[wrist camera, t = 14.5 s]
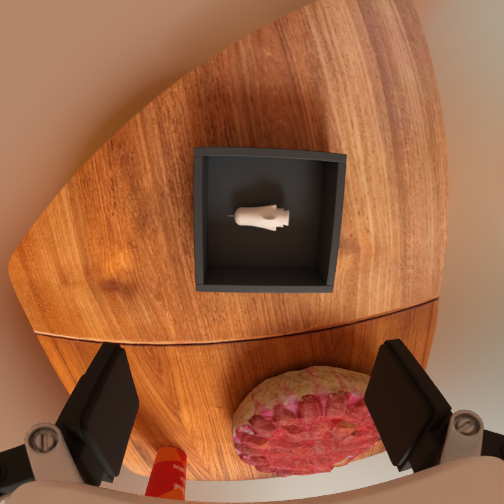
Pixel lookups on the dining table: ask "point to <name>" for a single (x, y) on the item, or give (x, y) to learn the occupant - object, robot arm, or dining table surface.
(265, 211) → the small white plastic part
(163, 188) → the dining table surface
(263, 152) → the bin
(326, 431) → the cake
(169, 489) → the paper cup
